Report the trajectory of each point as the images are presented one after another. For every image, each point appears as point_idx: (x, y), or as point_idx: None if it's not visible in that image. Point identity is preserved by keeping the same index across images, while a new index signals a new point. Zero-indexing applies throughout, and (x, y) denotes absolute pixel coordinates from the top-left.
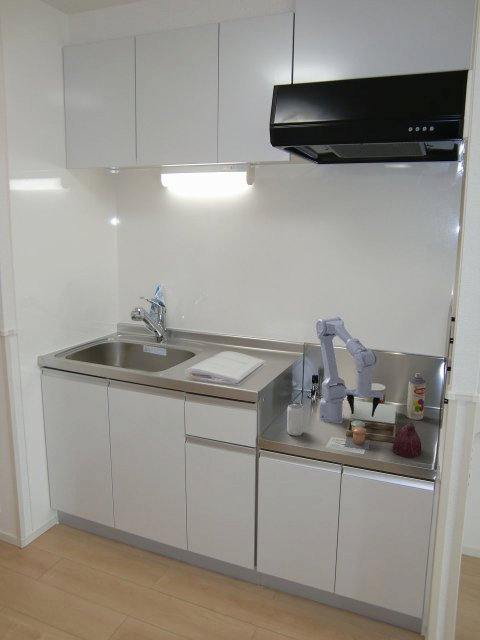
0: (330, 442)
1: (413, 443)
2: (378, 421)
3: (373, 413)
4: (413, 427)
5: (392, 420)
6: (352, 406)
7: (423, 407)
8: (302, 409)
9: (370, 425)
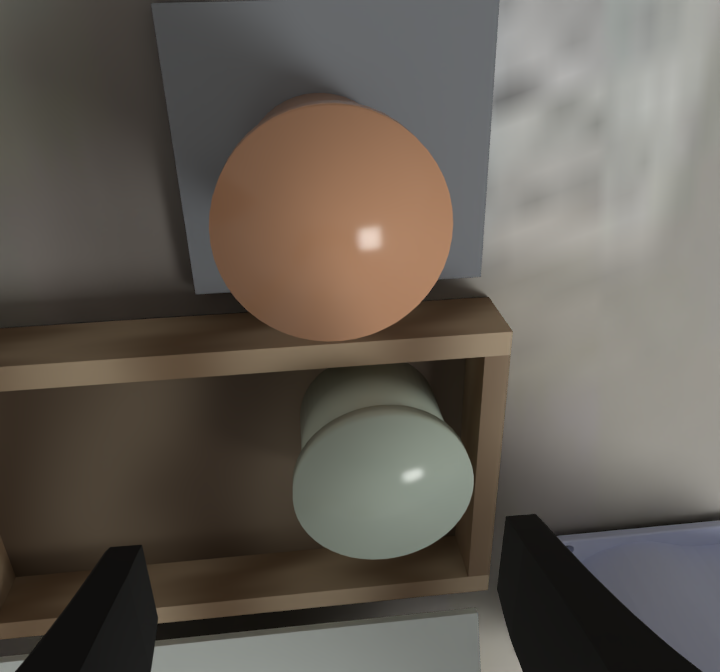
0: (669, 92)
1: None
2: (173, 644)
3: (78, 599)
4: None
5: None
6: (603, 647)
7: None
8: None
9: (255, 575)
